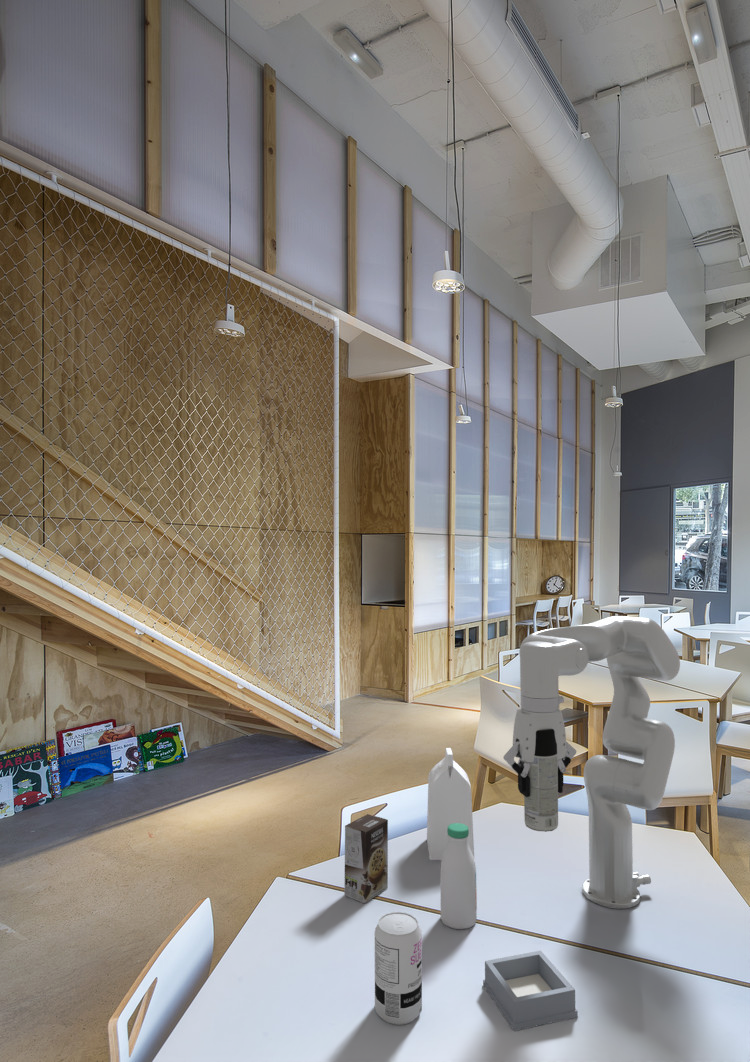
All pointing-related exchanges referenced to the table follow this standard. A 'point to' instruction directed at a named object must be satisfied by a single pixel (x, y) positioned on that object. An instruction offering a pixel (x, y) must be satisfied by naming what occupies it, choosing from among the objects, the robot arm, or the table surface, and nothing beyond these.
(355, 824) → the coffee box
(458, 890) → the milk bottle
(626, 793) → the robot arm
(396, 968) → the supplement can
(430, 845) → the milk
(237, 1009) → the table surface
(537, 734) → the spray can
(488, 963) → the holder
